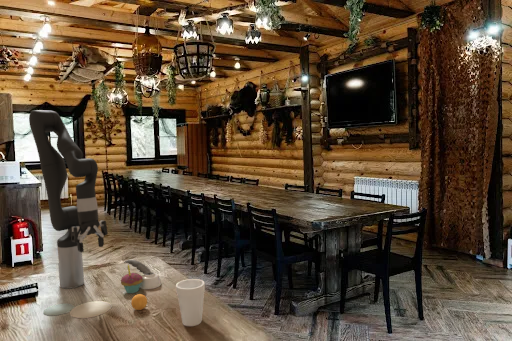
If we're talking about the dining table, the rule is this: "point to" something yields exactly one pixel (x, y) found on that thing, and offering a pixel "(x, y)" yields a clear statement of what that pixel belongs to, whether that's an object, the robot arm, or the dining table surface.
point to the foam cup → (191, 300)
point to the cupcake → (131, 281)
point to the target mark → (90, 309)
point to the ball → (139, 302)
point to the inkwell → (146, 275)
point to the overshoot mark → (58, 309)
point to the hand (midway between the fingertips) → (91, 249)
